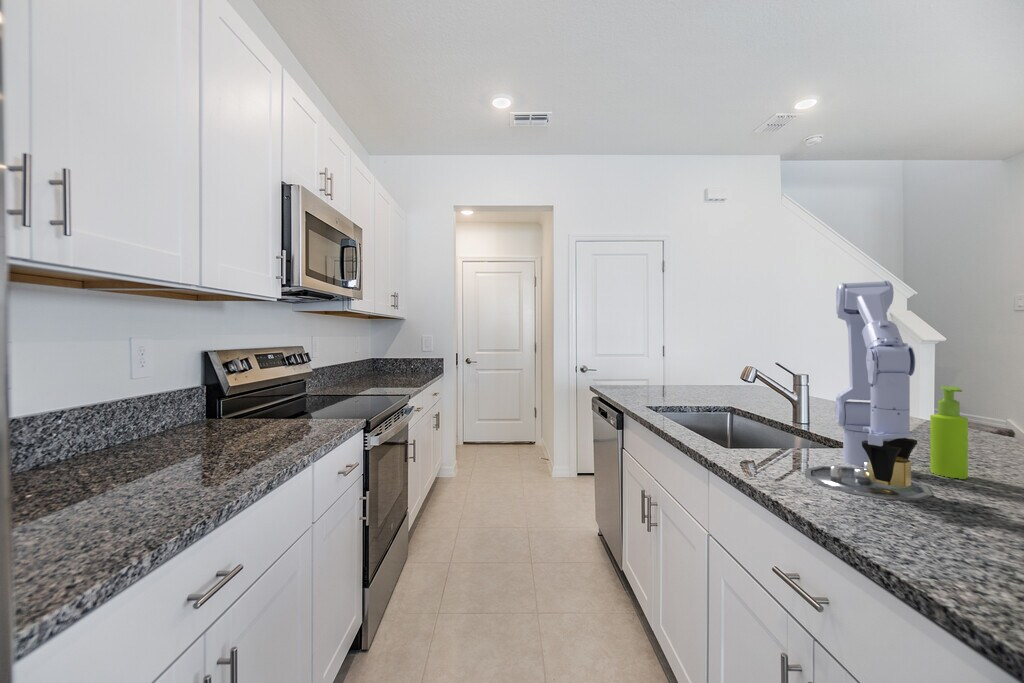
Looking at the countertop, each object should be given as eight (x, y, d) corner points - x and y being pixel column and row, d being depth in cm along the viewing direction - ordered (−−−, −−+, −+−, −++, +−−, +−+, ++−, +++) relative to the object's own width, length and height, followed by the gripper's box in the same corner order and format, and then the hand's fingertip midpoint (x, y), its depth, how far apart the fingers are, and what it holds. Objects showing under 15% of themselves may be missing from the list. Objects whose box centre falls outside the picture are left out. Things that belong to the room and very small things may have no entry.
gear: (879, 474, 87) (879, 452, 87) (916, 483, 82) (916, 460, 82) (864, 479, 85) (864, 456, 85) (900, 488, 80) (900, 464, 80)
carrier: (838, 467, 102) (838, 450, 102) (951, 495, 84) (951, 474, 84) (784, 479, 94) (784, 461, 94) (897, 512, 75) (897, 490, 75)
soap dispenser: (938, 478, 94) (938, 387, 94) (926, 469, 100) (926, 384, 100) (975, 482, 91) (975, 388, 91) (960, 473, 98) (960, 385, 98)
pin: (833, 484, 90) (833, 465, 90) (843, 486, 89) (843, 467, 89) (828, 485, 90) (828, 466, 90) (838, 488, 88) (838, 468, 88)
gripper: (878, 402, 91) (878, 466, 91) (848, 408, 83) (848, 478, 83) (923, 406, 85) (923, 475, 85) (895, 413, 77) (895, 489, 77)
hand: (889, 477), depth 84 cm, fingers closed on gear, 6 cm apart
